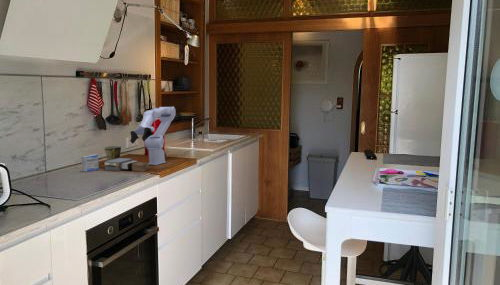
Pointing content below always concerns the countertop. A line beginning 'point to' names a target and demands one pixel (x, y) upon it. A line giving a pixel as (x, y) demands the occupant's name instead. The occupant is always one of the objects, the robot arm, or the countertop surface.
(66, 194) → the countertop surface
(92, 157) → the medicine box
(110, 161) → the gauge housing
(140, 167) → the walnut block
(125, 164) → the gauge plunger
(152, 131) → the robot arm
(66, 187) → the countertop surface
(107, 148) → the ceramic cup
